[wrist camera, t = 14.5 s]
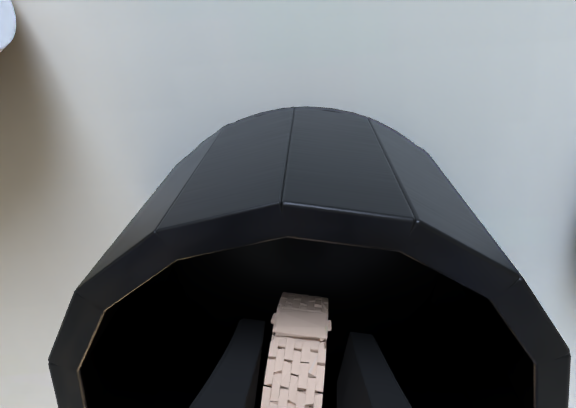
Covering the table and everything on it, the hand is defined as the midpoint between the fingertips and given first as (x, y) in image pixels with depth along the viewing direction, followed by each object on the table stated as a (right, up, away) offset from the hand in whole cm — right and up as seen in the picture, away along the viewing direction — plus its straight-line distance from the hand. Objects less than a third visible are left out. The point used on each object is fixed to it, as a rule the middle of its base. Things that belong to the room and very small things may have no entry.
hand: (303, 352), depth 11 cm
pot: (0, +2, +4) cm, 5 cm away
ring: (0, +1, +1) cm, 2 cm away
